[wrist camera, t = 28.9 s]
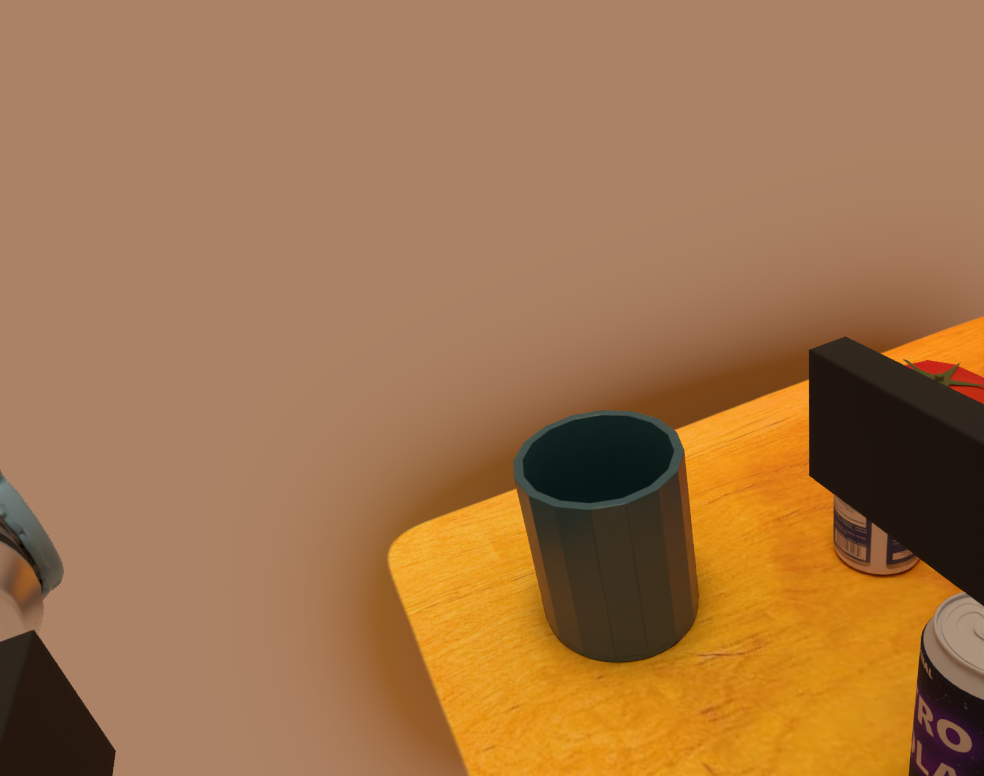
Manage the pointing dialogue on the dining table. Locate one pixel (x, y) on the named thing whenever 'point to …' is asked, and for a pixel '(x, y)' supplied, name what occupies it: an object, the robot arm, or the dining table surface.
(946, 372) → the tomato
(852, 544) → the pill bottle
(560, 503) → the tin
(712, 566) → the dining table surface
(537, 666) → the dining table surface
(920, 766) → the beverage can
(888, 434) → the robot arm
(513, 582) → the dining table surface
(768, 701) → the dining table surface
